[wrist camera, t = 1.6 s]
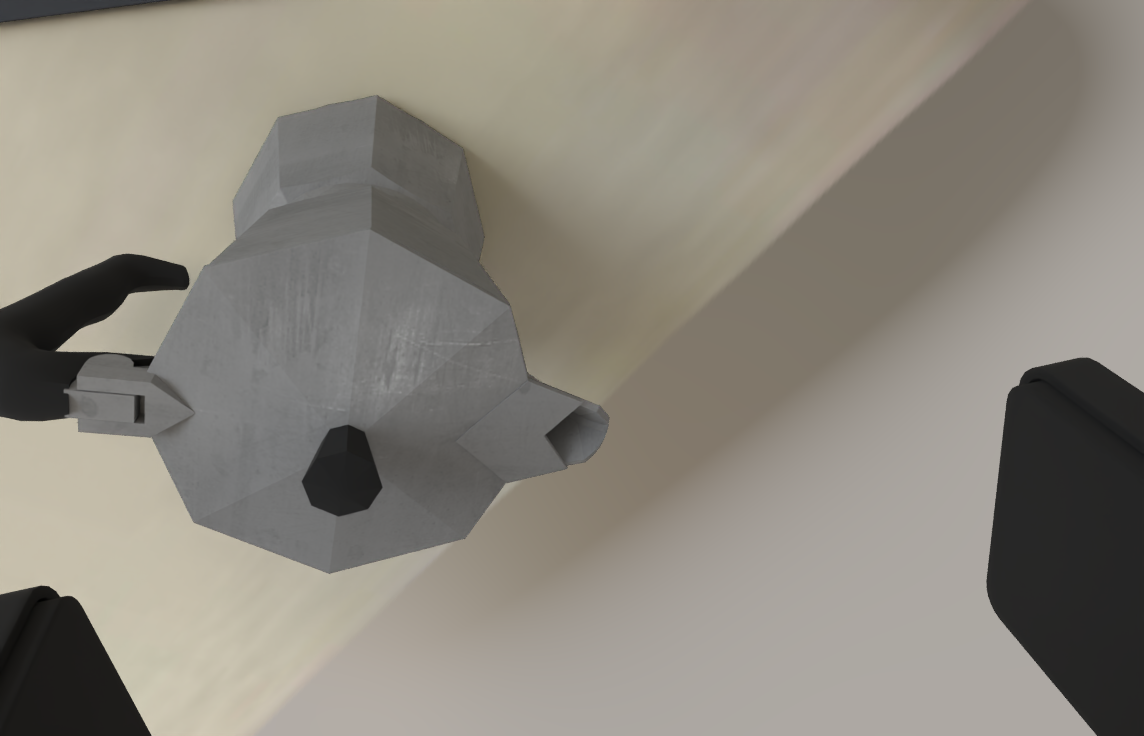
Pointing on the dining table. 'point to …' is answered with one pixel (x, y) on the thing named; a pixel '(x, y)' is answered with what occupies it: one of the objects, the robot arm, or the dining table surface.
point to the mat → (57, 7)
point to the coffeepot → (319, 353)
